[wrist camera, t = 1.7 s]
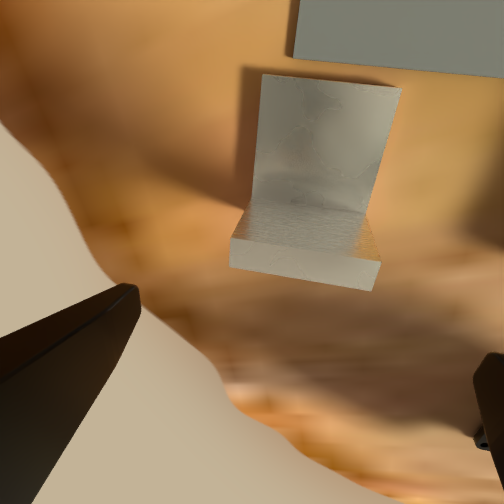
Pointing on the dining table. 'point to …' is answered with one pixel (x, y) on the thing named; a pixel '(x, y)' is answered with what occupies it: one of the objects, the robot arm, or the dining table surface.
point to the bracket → (315, 181)
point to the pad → (405, 34)
